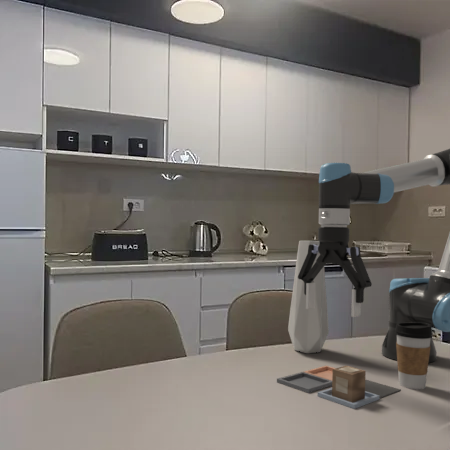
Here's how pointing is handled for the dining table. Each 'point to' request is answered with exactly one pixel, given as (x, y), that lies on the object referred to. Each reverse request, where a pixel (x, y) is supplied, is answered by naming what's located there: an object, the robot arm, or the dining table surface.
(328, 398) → the tray slate
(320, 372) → the tray terracotta
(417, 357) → the coffee cup
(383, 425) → the dining table surface
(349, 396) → the letter block
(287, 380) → the tray charcoal
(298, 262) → the vase
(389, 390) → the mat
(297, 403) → the dining table surface
